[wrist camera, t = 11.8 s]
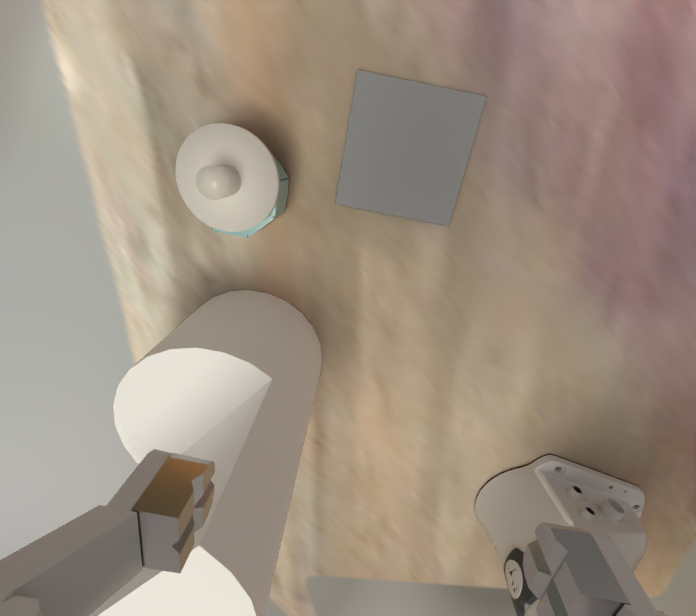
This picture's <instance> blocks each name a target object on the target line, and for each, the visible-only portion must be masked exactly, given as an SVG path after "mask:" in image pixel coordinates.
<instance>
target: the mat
mask: <svg viewBox="0 0 696 616" xmlns="http://www.w3.org/2000/svg"><path fill="white" fill-rule="evenodd" d="M486 97H487V96H483V95H478V94H473V93H468V92H463V91H458V90H453V89H449V88H444V87H439V86H434V85H429V84H424V83H419V82H415V81H410V80H405V79H400V78H395V77H390V76H385V75H380V74H376V73H371V72H366V71H361V70H357V76H356V82H355V88H354V94H353V100H352V106H351V112H350V118H349V124H348V130H347V136H346V142H345V148H344V155H343V161H342V167H341V173H340V179H339V185H338V191H337V197H336V203H335V204H337V205H343V206H348V207H353V208H358V209H363V210H368V211H373V212H378V213H383V214H388V215H393V216H398V217H403V218H408V219H413V220H418V221H423V222H428V223H433V224H438V225H443V226H448V227H449V224H450V221H451V217H452V214H453V210H454V207H455V203H456V200H457V197H458V193H459V190H460V186H461V183H462V179H463V176H464V173H465V169H466V166H467V162H468V159H469V155H470V152H471V149H472V145H473V142H474V138H475V135H476V131H477V128H478V125H479V121H480V118H481V114H482V111H483V107H484V104H485V101H486Z"/></svg>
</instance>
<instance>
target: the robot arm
mask: <svg viewBox="0 0 696 616" xmlns="http://www.w3.org/2000/svg"><path fill="white" fill-rule="evenodd" d="M214 473H215V462H213V461H209V460H205V459H200V458H195V457H191V456H186V455H182V454H177V453H171V452H166V451H161V450H157V449H153V450H152V451H151V452H149V453H148V454H147V455H146V456H145V457H144V459H143V460H142V461H141V462H140V464H139V465H138V466H137V468H136V469H135V470H134V472H133V473H132V474H131V475H130V476H129V478H128V479H127V480H126V482H125V483H124V484H123V485H122V487H121V488H120V489H119V491H118V492H117V493H116V494H115V496H114V497H113V498H112V500H111V501H110V502H109V503H108V505H107V506H103V505H99V506H97V507H95V508H94V509H92V510H90V511H88V512H86V513H85V514H83V515H81V516H79V517H77V518H76V519H74V520H72V521H70V522H68V523H67V524H65V525H63V526H61V527H59V528H58V529H56V530H54V531H52V532H50V533H49V534H47V535H45V536H43V537H41V538H39V539H38V540H36V541H34V542H32V543H30V544H29V545H27V546H25V547H24V548H21V549H20V550H18V551H16V552H14V553H13V554H11V555H9V556H7V557H6V558H3V559H2V560H0V616H89V615H91V614H92V613H93V612H94V611H95V610H96V609H98V608H99V607H100V606H101V605H102V604H103V603H105V602H106V601H107V600H108V599H109V598H111V597H112V596H113V595H114V594H115V593H116V592H118V591H119V590H120V589H121V588H122V587H123V586H125V585H126V584H127V583H128V582H129V581H131V580H132V579H133V578H134V577H135V576H136V575H138V574H139V573H140V572H141V571H142V568H148V569H154V570H161V571H167V572H173V573H181V571H182V569H183V567H184V565H185V563H186V561H187V559H188V557H189V555H190V552H191V550H192V548H193V546H194V532H196V531H197V530H199V529H200V528H201V527H203V525H204V523H205V521H206V519H207V517H208V514H209V511H210V508H211V505H212V502H213V497H214V487H215V485H214V484H213V482H212V481H211V479H212V477H213V475H214ZM644 504H645V498H644V494H643V492H642V490H641V489H640V488H639V487H637V486H635V485H633V484H630V483H627V482H624V481H622V480H619V479H616V478H614V477H611V476H608V475H605V474H603V473H600V472H597V471H595V470H592V469H589V468H586V467H584V466H581V465H578V464H576V463H573V462H570V461H567V460H565V459H562V458H559V457H556V456H553V455H546V456H543V457H541V458H539V459H538V460H536V461H534V462H533V463H531V464H530V465H527V466H525V467H521V468H517V469H513V470H510V471H507V472H505V473H503V474H501V475H499V476H497V477H495V478H494V479H492V480H491V481H490V482H488V483H487V484H486V485H485V486H484V487H483V488H482V490H481V491H480V493H479V494H478V497H477V499H476V503H475V512H476V515H477V518H478V520H479V521H480V523H481V524H482V526H483V527H484V529H485V531H486V532H487V534H488V536H489V538H490V539H491V541H492V543H493V545H494V547H495V549H496V551H497V554H498V556H499V558H500V560H501V563H502V565H503V568H504V573H505V578H506V582H507V586H508V589H509V592H510V596H511V599H512V602H513V605H514V608H515V611H516V614H517V616H667V615H666V614H665V613H664V612H662V611H658V610H656V609H655V608H654V606H653V605H652V603H651V601H650V600H649V598H648V596H647V595H646V593H645V591H644V590H643V588H642V586H641V585H640V583H639V581H638V580H637V578H636V577H635V575H634V573H633V572H634V570H635V569H636V567H637V565H638V564H639V562H640V561H641V559H642V557H643V555H644V553H645V550H646V546H647V536H646V532H645V529H644V527H643V525H642V523H641V521H640V520H639V519H640V517H641V515H642V512H643V509H644Z"/></svg>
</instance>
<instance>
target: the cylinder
mask: <svg viewBox="0 0 696 616" xmlns="http://www.w3.org/2000/svg"><path fill="white" fill-rule="evenodd" d="M321 365H322V353H321V345H320V342H319V339H318V337H317V335H316V333H315V330H314V328H313V326H312V325H311V324H310V323H309V322H308V320H307V319H306V318H305V317H304V315H303V314H302V313H301V312H300V311H298V310H297V309H296V308H294V307H293V306H292V305H290V304H289V303H288V302H286V301H284V300H282V299H280V298H278V297H275V296H273V295H271V294H268V293H263V292H258V291H252V290H241V291H229V292H226V293H224V294H221V295H218V296H215V297H213V298H211V299H210V300H209V301H207V302H206V303H205V304H203V305H202V306H201V307H199V308H198V309H197V310H196V311H195V312H194V313H193V314H191V315H190V316H189V317H188V318H187V319H186V320H185V321H184V322H182V323H181V324H180V325H179V326H178V327H177V328H176V329H175V330H173V331H172V332H171V333H170V334H169V335H168V336H167V337H166V338H164V339H163V340H162V341H161V342H160V343H159V344H158V345H157V346H155V347H154V348H153V349H152V350H151V351H150V352H149V353H148V354H146V355H145V356H144V357H143V358H142V359H141V360H140V361H139V362H137V363H136V364H135V365H134V366H133V367H132V368H131V369H130V370H129V371H128V372H127V374H126V375H125V377H124V378H123V380H122V381H121V383H120V384H119V386H118V388H117V392H116V396H115V401H114V404H113V409H114V418H115V426H116V429H117V431H118V433H119V435H120V438H121V440H122V443H123V445H124V446H125V448H126V449H127V450H128V452H129V453H130V454H131V456H132V457H133V458H134V460H135V461H136V462H137V463H138V464H140V462H141V461H142V460H143V459H144V457H145V456H146V455H147V454H148V453H149V452H151V451H152V450H153V449H157V450H161V451H166V452H171V453H177V454H182V455H186V456H191V457H195V458H200V459H205V460H209V461H213V462H215V473H214V475H213V477H212V479H211V481H212V482H213V484H214V485H215V487H214V497H213V502H212V505H211V508H210V511H209V514H208V517H207V519H206V521H205V523H204V525H203V527H201V528H200V529H199V530H197V531H196V532H194V546H193V548H192V550H191V552H190V555H189V557H188V559H187V561H186V563H185V565H184V567H183V569H182V571H181V573H173V572H167V571H161V570H154V569H148V568H142V571H141V572H140V573H139V574H138V575H136V576H135V577H134V578H133V579H132V580H131V581H129V582H128V583H127V584H126V585H125V586H123V587H122V588H121V589H120V590H119V591H118V592H116V593H115V594H114V595H113V596H112V597H111V598H109V599H108V600H107V601H106V602H105V603H103V604H102V605H101V606H100V607H99V608H98V609H96V610H95V611H94V612H93V613H92V614H91V615H89V616H264V614H265V610H266V606H267V601H268V597H269V593H270V588H271V584H272V580H273V575H274V571H275V567H276V562H277V558H278V554H279V549H280V545H281V541H282V536H283V532H284V528H285V523H286V519H287V515H288V510H289V506H290V502H291V498H292V493H293V489H294V485H295V480H296V476H297V472H298V467H299V463H300V459H301V454H302V450H303V446H304V441H305V437H306V433H307V428H308V424H309V420H310V415H311V411H312V407H313V402H314V398H315V394H316V389H317V385H318V381H319V376H320V371H321Z"/></svg>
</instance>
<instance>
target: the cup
mask: <svg viewBox="0 0 696 616" xmlns="http://www.w3.org/2000/svg"><path fill="white" fill-rule="evenodd" d="M270 152H271V151H270ZM272 155H273V154H272ZM273 157H274V156H273ZM274 159H275V161H276V164H277V167H278V171H279V176H280V191H279V196H278V200H277V203H276V205H275V207H274V209H273V210H272V212H271V213H270V215H269V216H268V217H267V218H266V219H265V220H264V221H262V222H261V223H259V224H258V225H256V226H255V227H253V228H250V229H248V230H245V231H240V232H227V231H221V230H218V229H215V228H213V227H211V228H212V229H213V230H214V229H215V231H216V232H221V233H226V234H232V235H237V236H242V237H250V236H252V235H253V234H254V233H256V232H257V231H259V230H260V229H262V228H263V227H264V226H266V225H267V224H269V223H270V222H271V221H273V220H274V219H275V218H277V217H278V216H279V215H281V214H282V213H283V212H284V211H285V209H286V202H287V198H288V183H289V179H287V178H288V176H287V174H286V173H285V171H284V169H283V167H282V166H281V164H280V163H279V161H278V160H277V159H276V158H275V157H274Z"/></svg>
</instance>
